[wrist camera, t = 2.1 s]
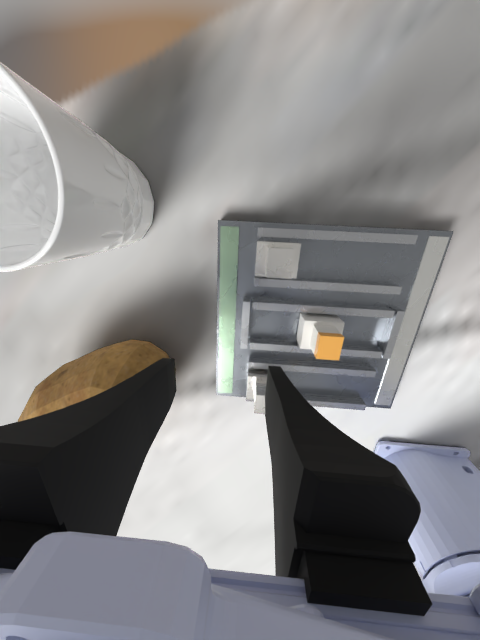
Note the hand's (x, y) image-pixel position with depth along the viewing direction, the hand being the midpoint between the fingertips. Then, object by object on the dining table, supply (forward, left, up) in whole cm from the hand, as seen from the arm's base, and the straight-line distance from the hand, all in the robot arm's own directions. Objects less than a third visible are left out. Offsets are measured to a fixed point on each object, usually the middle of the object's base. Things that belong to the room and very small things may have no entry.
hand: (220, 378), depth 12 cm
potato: (+11, +7, -10) cm, 16 cm away
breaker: (-7, 0, -8) cm, 11 cm away
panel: (-7, 0, -9) cm, 12 cm away
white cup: (+10, -9, -10) cm, 17 cm away
